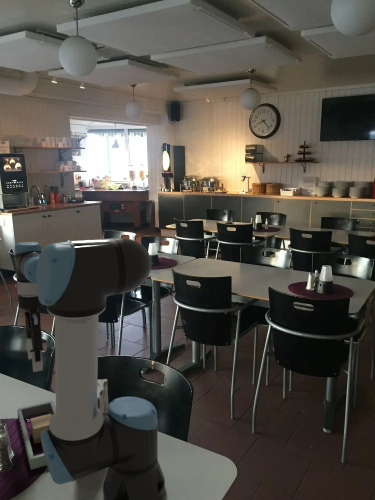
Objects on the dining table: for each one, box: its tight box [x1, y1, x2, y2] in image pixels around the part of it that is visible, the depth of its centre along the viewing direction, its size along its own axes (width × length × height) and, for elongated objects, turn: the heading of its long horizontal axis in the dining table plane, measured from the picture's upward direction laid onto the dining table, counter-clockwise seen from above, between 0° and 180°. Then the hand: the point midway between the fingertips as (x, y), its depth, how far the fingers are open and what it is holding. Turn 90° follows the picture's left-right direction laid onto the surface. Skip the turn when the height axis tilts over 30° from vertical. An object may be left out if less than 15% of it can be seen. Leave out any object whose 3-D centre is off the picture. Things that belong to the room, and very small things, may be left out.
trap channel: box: [17, 400, 56, 471], centre depth 127 cm, size 28×11×3 cm, turn 28°
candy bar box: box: [97, 378, 109, 413], centre depth 125 cm, size 11×5×16 cm, turn 179°
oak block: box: [30, 413, 52, 445], centre depth 127 cm, size 6×6×5 cm
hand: (35, 364), depth 131 cm, fingers open, 9 cm apart
